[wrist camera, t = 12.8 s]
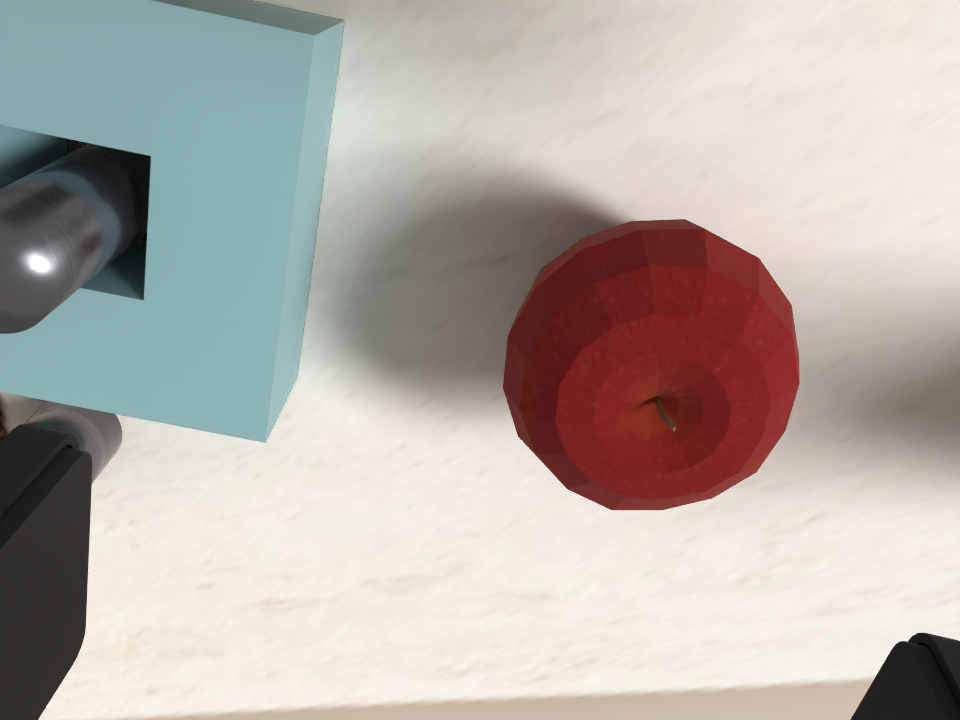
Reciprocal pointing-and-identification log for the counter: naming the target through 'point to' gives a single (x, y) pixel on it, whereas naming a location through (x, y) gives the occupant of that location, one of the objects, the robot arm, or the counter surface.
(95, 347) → the socket block
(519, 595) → the counter surface
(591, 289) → the apple
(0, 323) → the long pin
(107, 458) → the short pin
